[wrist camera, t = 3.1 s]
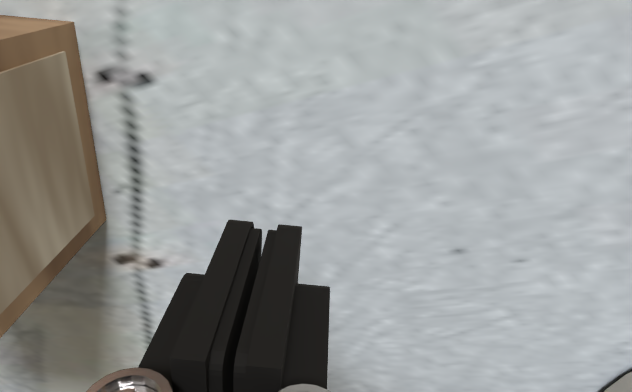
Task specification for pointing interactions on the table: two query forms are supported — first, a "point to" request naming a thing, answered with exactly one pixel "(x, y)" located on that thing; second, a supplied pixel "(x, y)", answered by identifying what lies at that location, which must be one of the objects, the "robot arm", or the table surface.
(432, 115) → the table surface
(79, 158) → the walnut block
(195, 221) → the table surface
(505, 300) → the table surface
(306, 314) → the robot arm
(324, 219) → the table surface
